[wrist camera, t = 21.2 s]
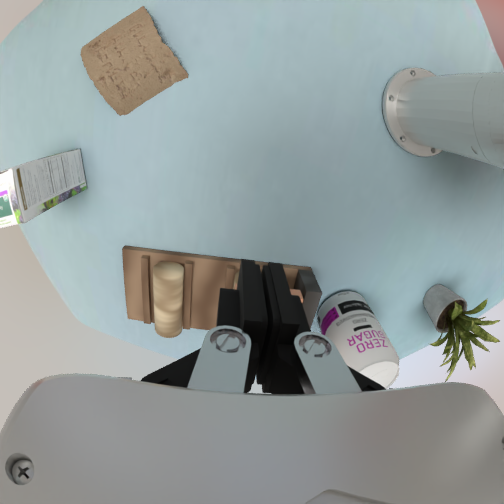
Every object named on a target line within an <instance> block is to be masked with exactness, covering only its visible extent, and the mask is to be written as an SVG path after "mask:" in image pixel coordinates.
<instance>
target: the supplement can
mask: <svg viewBox="0 0 504 504" xmlns="http://www.w3.org/2000/svg"><path fill="white" fill-rule="evenodd" d="M317 319H318V324H319V327H320V330H321V333H322V334H323V335H325V336H327V337H328V338H329V339H331V340H332V342H333V343H334V344H335V346H336V348H337V349H338V351H339V353H340V354H341V356H342V358H343V359H344V361H345V363H346V365H347V366H349V367H351V368H352V369H354V370H356V371H358V372H359V373H361V374H363V375H364V376H366V377H368V378H370V379H371V380H373V381H375V382H377V383H379V384H380V385H382V386H383V387H384V388H385V389H387V388H388V387H389V386H390V385H392V384H393V383H394V381H395V380H396V378H397V377H398V375H399V357H398V355H397V353H396V351H395V349H394V347H393V346H392V344H391V342H390V340H389V339H388V337H387V335H386V334H385V332H384V330H383V329H382V327H381V325H380V324H379V322H378V320H377V319H376V317H375V315H374V314H373V312H372V310H371V309H370V307H369V306H368V304H367V302H366V301H365V299H364V298H363V296H361V295H360V294H358V293H356V292H351V291H346V292H340V293H338V294H335V295H333V296H331V297H330V298H329V299H327V300H326V301H325V302H324V303H323V305H322V306H321V307H320V309H319V312H318V316H317Z"/></svg>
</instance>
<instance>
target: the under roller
mask: <svg viewBox="0 0 504 504" xmlns="http://www.w3.org/2000/svg"><path fill="white" fill-rule="evenodd" d="M183 278H184V268H183V266H182V265H180V264H179V263H176V262H171V261H164V262H160V263H157V264H155V265H154V267H153V295H154V319H155V331H156V333H157V334H158V335H160V336H162V337H166V338H172V337H176V336H178V335H179V334H180V333H181V332H182V308H183Z"/></svg>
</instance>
